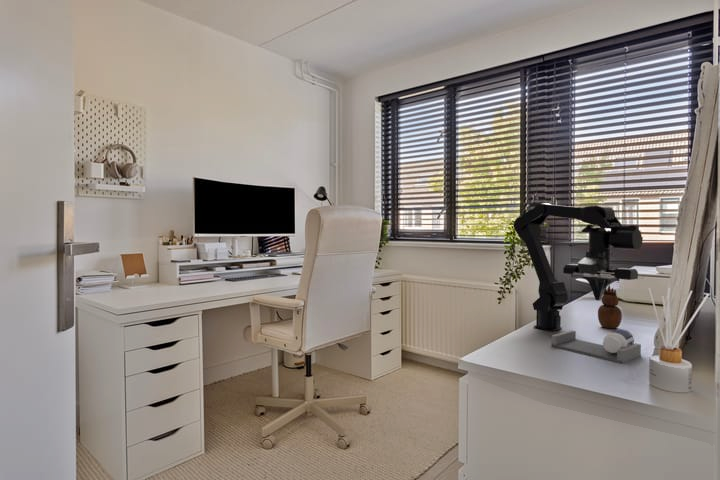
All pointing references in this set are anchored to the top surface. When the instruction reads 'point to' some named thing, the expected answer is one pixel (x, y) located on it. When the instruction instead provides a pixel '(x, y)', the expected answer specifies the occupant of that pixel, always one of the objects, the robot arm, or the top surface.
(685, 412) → the top surface
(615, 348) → the pill bottle
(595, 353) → the tray
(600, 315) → the wooden figurine
